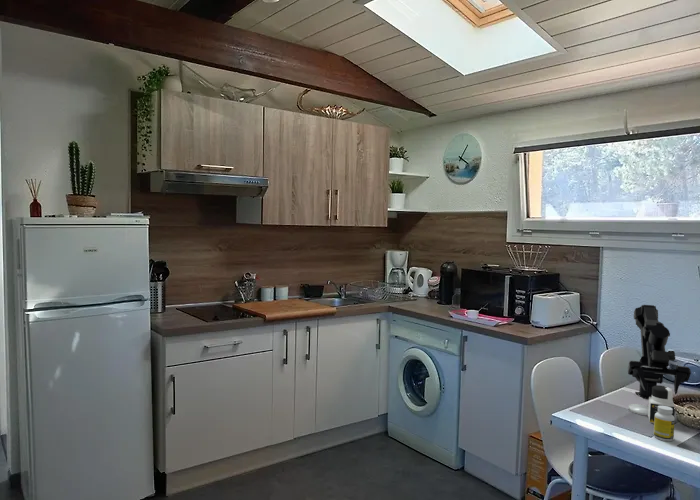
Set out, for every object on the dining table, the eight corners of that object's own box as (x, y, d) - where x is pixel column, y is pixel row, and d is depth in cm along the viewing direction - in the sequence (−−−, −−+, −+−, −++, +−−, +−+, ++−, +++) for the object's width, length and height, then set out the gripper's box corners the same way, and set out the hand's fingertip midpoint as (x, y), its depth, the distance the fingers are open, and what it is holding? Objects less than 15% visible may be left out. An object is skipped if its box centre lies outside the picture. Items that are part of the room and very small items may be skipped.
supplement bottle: (673, 443, 155) (675, 411, 155) (653, 439, 158) (654, 408, 158) (673, 437, 160) (675, 406, 159) (653, 433, 163) (655, 403, 162)
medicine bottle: (649, 422, 172) (651, 388, 171) (647, 416, 178) (649, 382, 178) (674, 427, 169) (676, 391, 168) (671, 420, 175) (673, 385, 174)
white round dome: (623, 406, 187) (623, 403, 187) (648, 407, 187) (648, 404, 187) (636, 415, 178) (636, 412, 178) (662, 416, 178) (662, 413, 178)
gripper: (630, 338, 183) (632, 376, 173) (691, 344, 176) (697, 383, 166) (626, 355, 191) (628, 392, 181) (684, 361, 184) (690, 400, 174)
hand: (660, 392), depth 175 cm, fingers open, 9 cm apart
